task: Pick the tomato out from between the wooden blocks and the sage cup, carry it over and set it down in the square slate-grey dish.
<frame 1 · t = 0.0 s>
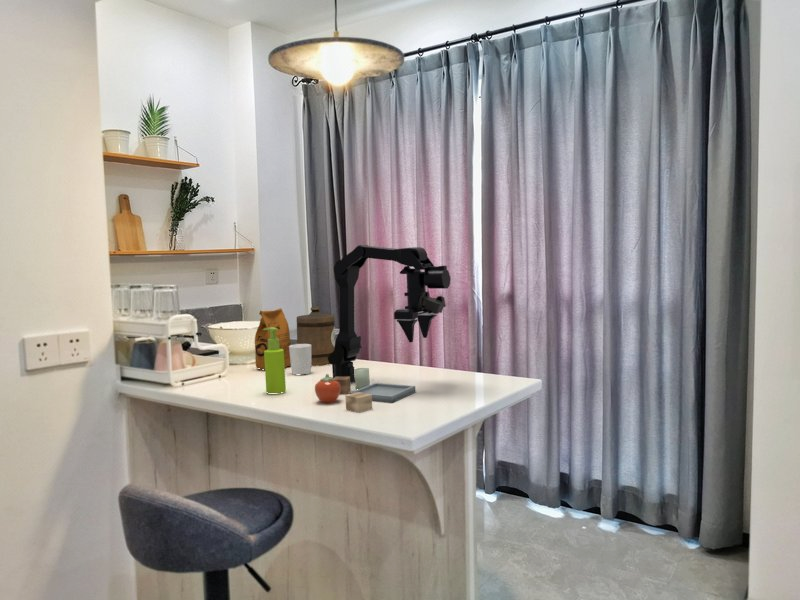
hand: (418, 339, 193), 15 cm above the countertop, tool pointing down, fingers open, 9 cm apart
wooden container: (317, 363, 245), on the countertop
beech block: (359, 409, 170), on the countertop
soap dispenser: (275, 392, 195), on the countertop
tomato: (328, 402, 180), on the countertop
white cup: (301, 374, 224), on the countertop
coffee package: (273, 368, 236), on the countertop
dish: (383, 395, 185), on the countertop
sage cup: (362, 388, 196), on the countertop
walnut block: (341, 392, 191), on the countertop
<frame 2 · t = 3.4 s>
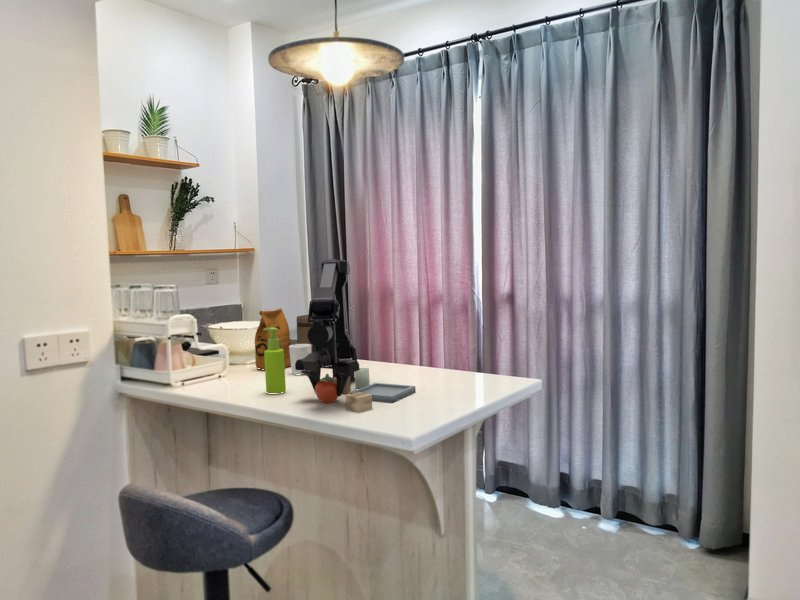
hand: (328, 395, 180), 2 cm above the countertop, tool pointing down, fingers closed on tomato, 7 cm apart
tomato: (328, 402, 180), on the countertop, touching gripper
everything else where it was.
when the fingers open (4 cm above the countertop, at t = 8.2 s): tomato drops 1 cm, resting on dish.
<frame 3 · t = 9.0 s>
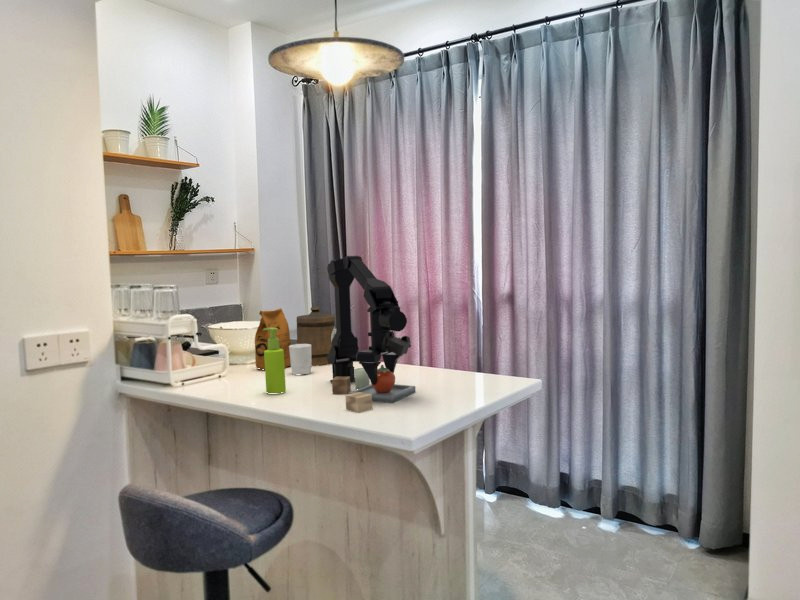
hand: (382, 381, 185), 4 cm above the countertop, tool pointing down, fingers open, 9 cm apart
tomato: (383, 392, 185), point 1 cm above the countertop, touching dish
everything else where it was.
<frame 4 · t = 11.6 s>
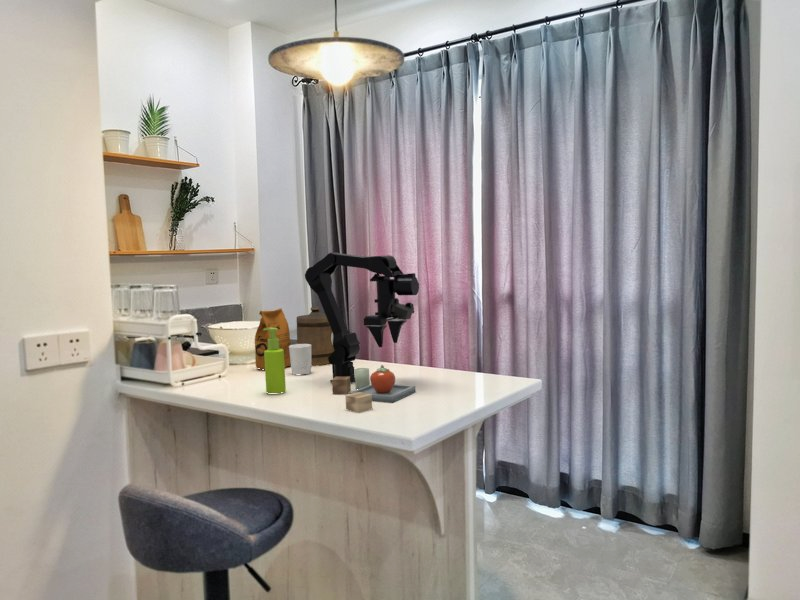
hand: (388, 344, 199), 13 cm above the countertop, tool pointing down, fingers open, 9 cm apart
nothing on the countertop moved.
at the end: tomato inside the target area on the dish (0.1 cm from its centre), point 0.8 cm above the dish's base; the gripper is holding nothing; walnut block moved 0.1 cm from its start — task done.
